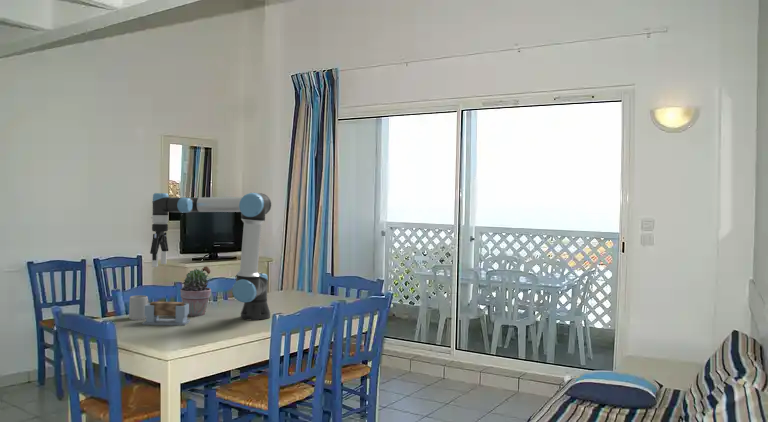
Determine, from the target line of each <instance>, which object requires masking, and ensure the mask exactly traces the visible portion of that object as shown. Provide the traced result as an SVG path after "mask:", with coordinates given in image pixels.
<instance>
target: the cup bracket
mask: <svg viewBox="0 0 768 422" xmlns="http://www.w3.org/2000/svg"><path fill="white" fill-rule="evenodd" d="M150 303H151V302H149V304H147V305H145V316H146V319H145V321H143V322H142V326H145V325H146V326H186V325H187V324H189V323H190V322H191V319H188V314H189V304H184V306H176V316H175V318H159V317H160V316H155V315H154V305H150Z"/></svg>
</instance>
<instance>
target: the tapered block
mask: <svg viewBox="0 0 768 422" xmlns="http://www.w3.org/2000/svg"><path fill="white" fill-rule="evenodd" d="M149 303H150V305H154V315H155V316H159V317H162V316H164V317H176V306H184V302H183V301H151V302H149Z"/></svg>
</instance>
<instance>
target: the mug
mask: <svg viewBox="0 0 768 422" xmlns="http://www.w3.org/2000/svg"><path fill="white" fill-rule="evenodd" d="M149 301H150V300H149V298H148V296H147V295H142V294H140V295H131V296H129V305H128V307H129V309H128V310H129V312H128V313H129V314H128V319H129V320H132V321H141V319H142V320H146V316H145V305H147V304H149V303H150V302H149Z"/></svg>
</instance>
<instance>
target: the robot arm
mask: <svg viewBox="0 0 768 422" xmlns="http://www.w3.org/2000/svg"><path fill="white" fill-rule="evenodd" d="M151 201H152V202H151V203H152V216H151V217H150V218H151V219H152V224H151V230H152V232H155V233H153V234H152V241H151V246H150V251H149V253H150V254H151V267H152V268H157V267H159V253H158V252H159V249H161V251H160V265H167V260H168V259H167V257H168V256H167V254H168V253H167V252H169V245H168V244H169V243H168V239H167V232H168V230H169V224H168V223H169V213H182V214H184V213H185V214H186V213H187V214H188V213H216V212H217V213H220V212H221V213H223V212H224V213H227V212H228V213H235V212H236V213H240V220H241V221H242V223H243V227H242V230H243V231H242V240H241V241H242V242H241V254H240V255H241V257H240V264H239V265H240V266H239V268H240V269H239V271H237V272H236V275H235V276H236V278H235V282H234V283H233V285H232V295H233V297H234V299H236V301H238V302H240V303H243V306H242V309H241V312H240V319H242V320H247V319H251V321H259V319H262V320H268V319H270V318H271V312H270V307H269V304H268V283H269V282H268V281H269V279H268V274H266V273H259V272H258V269H259V258H260V257H259V256H260V246H261V233H262V225H263V223H265V221H266V215H267V214H268V213H269V212H270V210H271V208H272V201H271V199H270V197H269V196H268V195H267V194H265V193H262V192H261V193H260V192H258V193H257V192H250V193H246V194H244V196H240V197H232V196H231V197H225V196H224V197H223V196H222V197H220V196H218V197H214V196H213V197H177V196H176V197H173V196H172V197H171V196H169V194H168V193H167V192H166V193H164V192H163V193H162V192H160V193H159V192H158V193H157V192H155V193H153V194H152V200H151ZM267 318H268V319H267Z"/></svg>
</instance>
